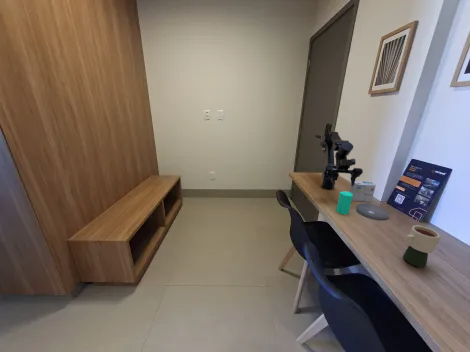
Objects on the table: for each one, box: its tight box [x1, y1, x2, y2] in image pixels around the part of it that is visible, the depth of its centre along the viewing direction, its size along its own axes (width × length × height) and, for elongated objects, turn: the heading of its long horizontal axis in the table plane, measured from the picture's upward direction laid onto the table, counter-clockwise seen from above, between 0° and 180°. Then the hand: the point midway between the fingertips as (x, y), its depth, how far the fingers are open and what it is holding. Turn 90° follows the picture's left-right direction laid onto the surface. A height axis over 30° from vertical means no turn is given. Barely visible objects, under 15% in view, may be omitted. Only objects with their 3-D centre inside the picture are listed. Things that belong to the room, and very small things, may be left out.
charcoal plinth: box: [356, 202, 390, 221], centre depth 105 cm, size 14×14×2 cm
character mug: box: [402, 225, 441, 268], centre depth 70 cm, size 11×7×13 cm, turn 88°
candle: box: [335, 190, 353, 215], centre depth 104 cm, size 6×6×12 cm
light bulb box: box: [349, 180, 376, 203], centre depth 119 cm, size 11×7×11 cm, turn 84°
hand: (343, 185), depth 107 cm, fingers open, 9 cm apart
